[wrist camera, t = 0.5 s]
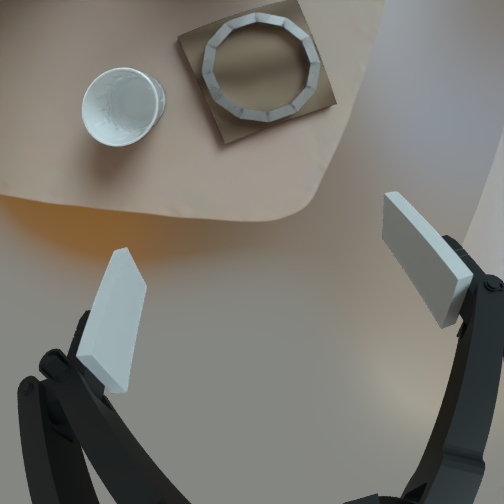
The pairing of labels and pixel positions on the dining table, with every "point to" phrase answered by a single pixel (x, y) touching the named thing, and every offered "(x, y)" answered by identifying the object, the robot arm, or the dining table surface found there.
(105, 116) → the white cup
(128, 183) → the dining table surface
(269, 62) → the ring holder
